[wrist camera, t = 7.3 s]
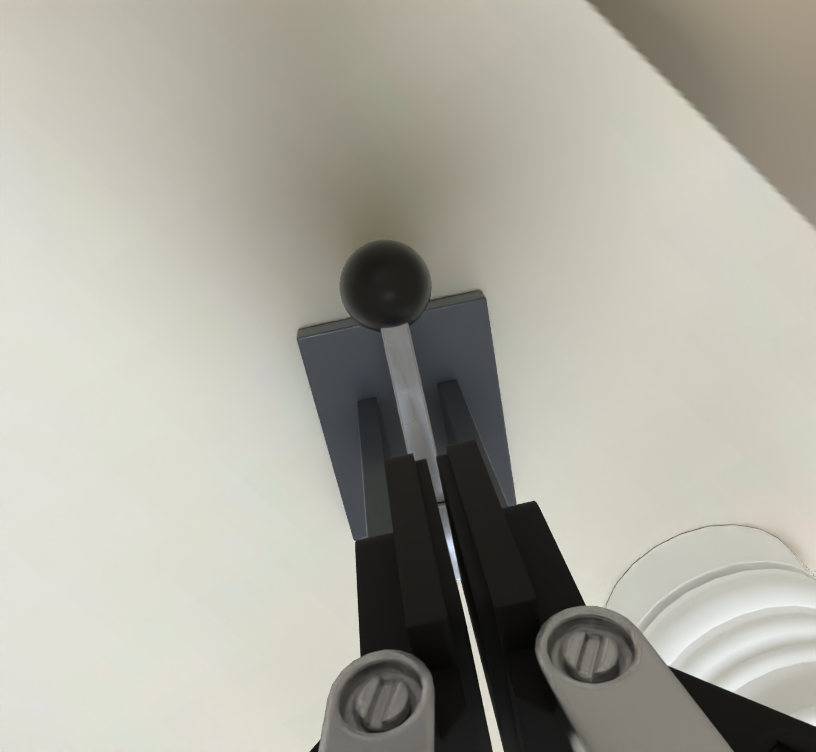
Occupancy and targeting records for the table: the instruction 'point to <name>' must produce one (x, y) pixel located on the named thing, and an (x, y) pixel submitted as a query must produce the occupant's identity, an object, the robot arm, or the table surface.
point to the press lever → (398, 339)
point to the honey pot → (729, 614)
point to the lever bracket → (377, 409)
